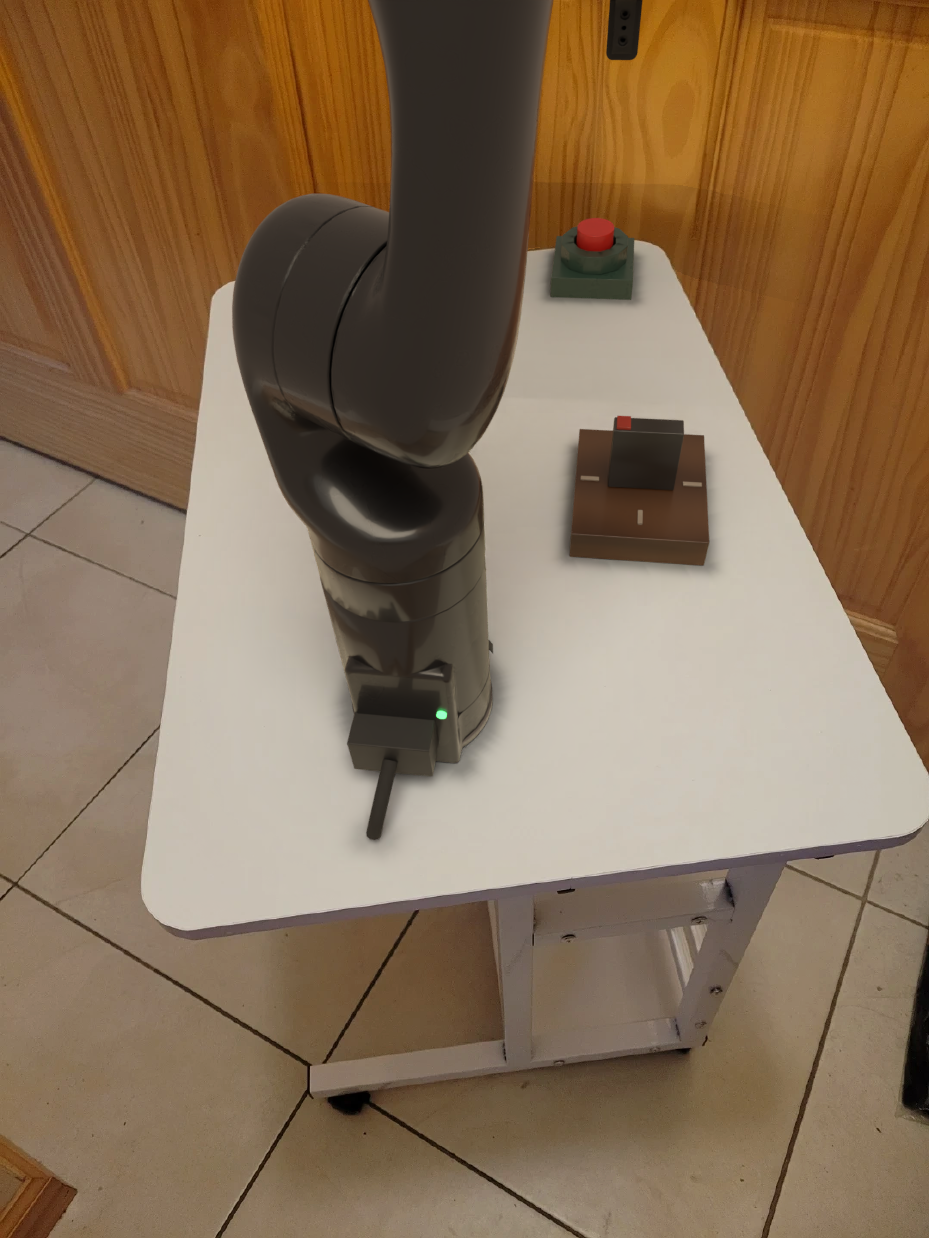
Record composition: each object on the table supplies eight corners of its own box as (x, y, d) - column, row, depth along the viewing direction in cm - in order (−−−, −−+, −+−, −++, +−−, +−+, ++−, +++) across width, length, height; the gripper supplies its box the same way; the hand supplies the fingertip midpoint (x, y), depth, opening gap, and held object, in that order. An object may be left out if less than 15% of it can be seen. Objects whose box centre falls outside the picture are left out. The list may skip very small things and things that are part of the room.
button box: (630, 300, 89) (635, 263, 86) (550, 297, 90) (551, 260, 87) (632, 257, 94) (636, 220, 91) (555, 255, 95) (557, 219, 92)
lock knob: (673, 476, 69) (684, 417, 65) (673, 490, 68) (684, 431, 64) (608, 473, 70) (614, 414, 65) (607, 487, 69) (614, 428, 64)
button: (612, 254, 88) (613, 237, 86) (575, 253, 88) (576, 236, 87) (613, 235, 90) (614, 218, 89) (577, 234, 90) (578, 217, 89)
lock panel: (703, 565, 67) (709, 541, 65) (569, 557, 68) (571, 532, 66) (699, 458, 74) (704, 433, 72) (577, 452, 75) (579, 427, 73)
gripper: (722, -267, 46) (675, 95, 60) (713, -305, 54) (673, 22, 68) (576, -262, 47) (563, 94, 61) (588, -299, 55) (574, 22, 69)
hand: (621, 55), depth 64 cm, fingers closed
